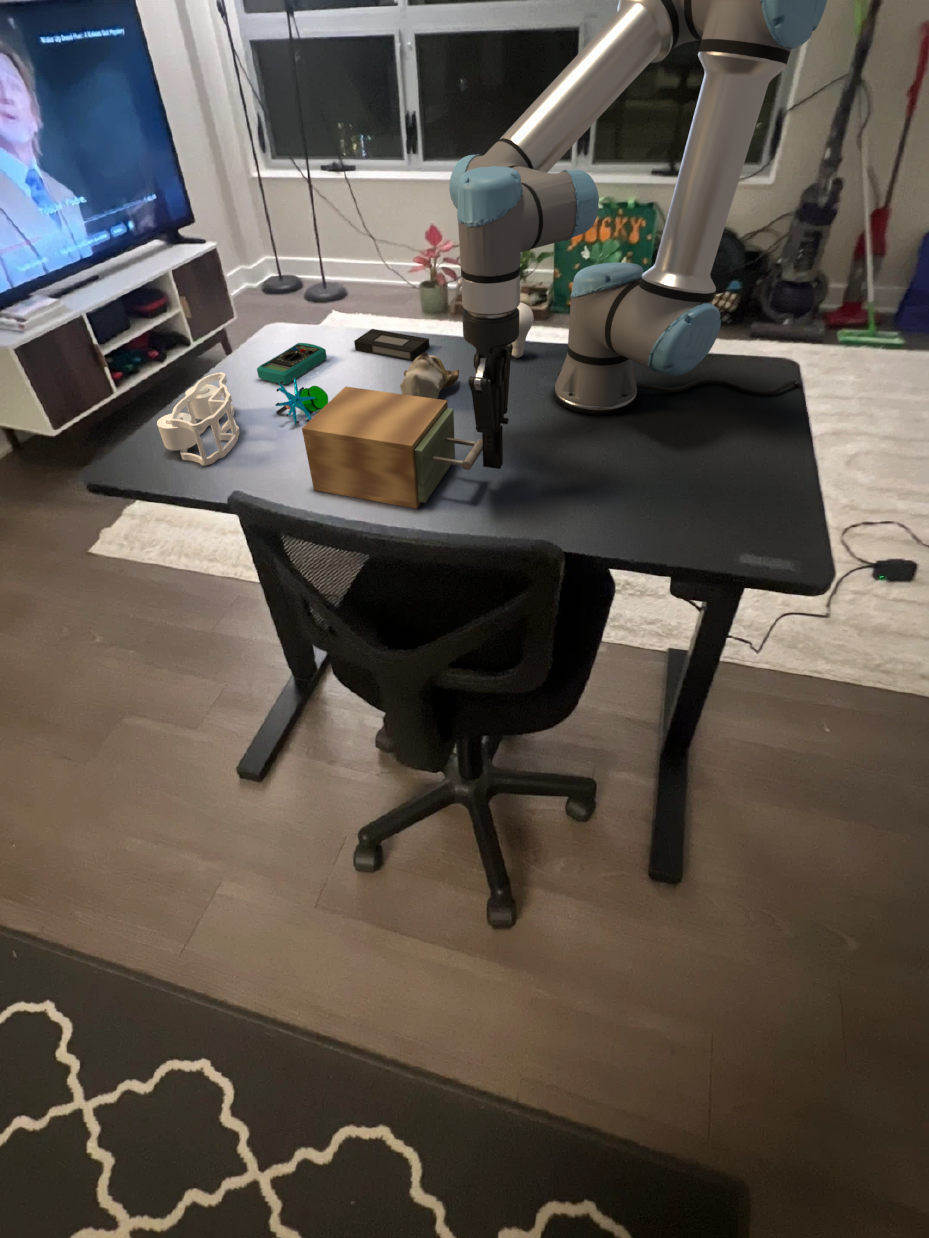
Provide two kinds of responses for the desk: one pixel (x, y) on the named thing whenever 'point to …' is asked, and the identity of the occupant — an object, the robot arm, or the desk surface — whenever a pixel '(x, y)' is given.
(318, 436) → the cabinet
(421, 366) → the ceramic sculpture
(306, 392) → the stick construction toy
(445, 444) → the drawer
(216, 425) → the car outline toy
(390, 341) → the vhs tape
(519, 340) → the lightbulb
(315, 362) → the digital multimeter
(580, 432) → the desk surface
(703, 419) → the desk surface
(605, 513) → the desk surface
